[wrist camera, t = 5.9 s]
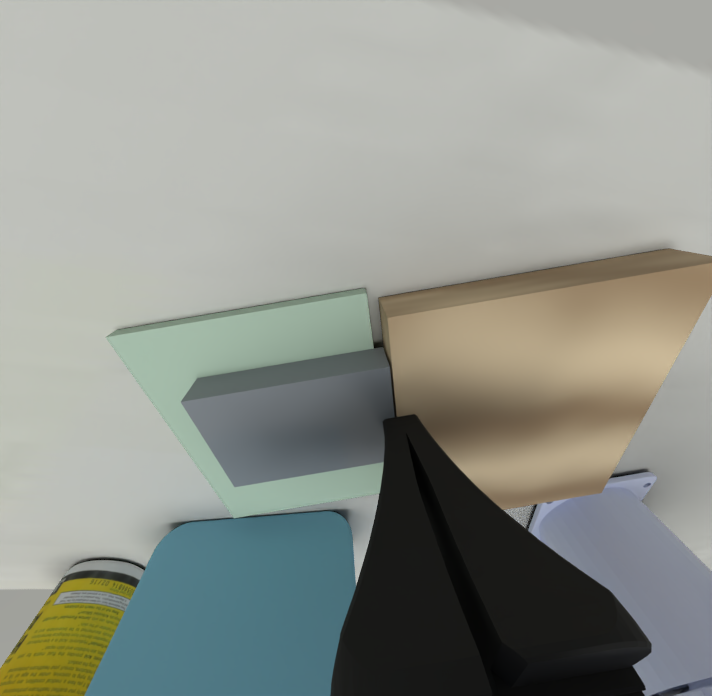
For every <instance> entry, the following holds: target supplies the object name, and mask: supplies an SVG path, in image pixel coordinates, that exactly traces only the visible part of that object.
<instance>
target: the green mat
mask: <svg viewBox="0 0 712 696" xmlns="http://www.w3.org/2000/svg"><path fill="white" fill-rule="evenodd" d="M106 338H107V340H108V341H109V343H110V344H111V346H112V347H113V348H114V350H115V351H116V353H117V354H118V355H119V357H120V358H121V360H122V361H123V362H124V364H125V365H126V367H127V368H128V370H129V371H130V372H131V374H132V375H133V377H134V378H135V379H136V381H137V382H138V384H139V385H140V386H141V388H142V389H143V391H144V392H145V394H146V395H147V396H148V398H149V399H150V401H151V402H152V403H153V405H154V406H155V408H156V409H157V410H158V412H159V413H160V415H161V416H162V417H163V419H164V420H165V422H166V423H167V425H168V426H169V427H170V429H171V430H172V432H173V433H174V434H175V436H176V437H177V439H178V440H179V441H180V443H181V444H182V446H183V447H184V449H185V450H186V451H187V453H188V454H189V456H190V457H191V458H192V460H193V461H194V463H195V464H196V465H197V467H198V468H199V470H200V471H201V473H202V474H203V475H204V477H205V478H206V480H207V481H208V482H209V484H210V485H211V487H212V488H213V489H214V491H215V492H216V494H217V495H218V496H219V498H220V499H221V501H222V502H223V504H224V505H225V506H226V508H227V509H228V511H229V512H230V513H231V515H232V516H233V518H239V517H245V516H251V515H256V514H262V513H268V512H274V511H280V510H286V509H292V508H298V507H303V506H309V505H315V504H321V503H327V502H333V501H339V500H344V499H350V498H356V497H362V496H368V495H374V494H380V488H381V481H382V473H383V464H384V462H382V463H376V464H370V465H364V466H358V467H352V468H346V469H340V470H335V471H329V472H323V473H317V474H311V475H305V476H299V477H293V478H287V479H281V480H275V481H270V482H264V483H258V484H252V485H246V486H240V487H234V486H233V484H232V483H231V481H230V479H229V478H228V476H227V475H226V473H225V472H224V470H223V468H222V467H221V465H220V464H219V462H218V460H217V459H216V457H215V456H214V454H213V453H212V451H211V449H210V448H209V446H208V445H207V443H206V442H205V440H204V438H203V437H202V435H201V434H200V432H199V430H198V429H197V427H196V426H195V424H194V423H193V421H192V419H191V418H190V416H189V415H188V413H187V411H186V410H185V408H184V407H183V405H182V404H181V401H182V399H183V398H184V396H185V395H186V393H187V392H188V391H189V389H190V388H191V386H192V385H193V383H194V382H195V381H196V379H197V378H201V377H207V376H213V375H219V374H225V373H231V372H237V371H243V370H249V369H255V368H261V367H267V366H273V365H279V364H285V363H290V362H296V361H302V360H308V359H314V358H320V357H326V356H332V355H338V354H344V353H350V352H356V351H362V350H368V349H374V346H373V339H372V331H371V323H370V316H369V308H368V300H367V293H366V290H365V288H362V289H356V290H350V291H344V292H338V293H333V294H327V295H321V296H315V297H309V298H303V299H297V300H291V301H285V302H279V303H274V304H268V305H262V306H256V307H250V308H244V309H238V310H232V311H226V312H220V313H214V314H209V315H203V316H197V317H191V318H185V319H179V320H173V321H167V322H161V323H155V324H150V325H144V326H138V327H132V328H126V329H120V330H116V331H114V332H113V333H111V334H110V335H108V336H107V337H106Z"/></svg>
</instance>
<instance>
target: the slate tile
mask: <svg viewBox="0 0 712 696" xmlns="http://www.w3.org/2000/svg"><path fill="white" fill-rule="evenodd" d="M181 404H182V405H183V407H184V408H185V410H186V411H187V413H188V415H189V416H190V418H191V419H192V421H193V423H194V424H195V426H196V427H197V429H198V430H199V432H200V434H201V435H202V437H203V438H204V440H205V442H206V443H207V445H208V446H209V448H210V449H211V451H212V453H213V454H214V456H215V457H216V459H217V460H218V462H219V464H220V465H221V467H222V468H223V470H224V472H225V473H226V475H227V476H228V478H229V479H230V481H231V483H232V484H233V486H234V487H240V486H246V485H252V484H258V483H264V482H270V481H275V480H281V479H287V478H293V477H299V476H305V475H311V474H317V473H323V472H329V471H335V470H340V469H346V468H352V467H358V466H364V465H370V464H376V463H382V462H384V450H385V437H384V429H383V421H384V420H385V419H388V418H394V417H395V416H394V406H393V395H392V385H391V374H390V366H389V363H388V360H387V357H386V354H385V351H384V349H383V347H380V348H374V349H368V350H362V351H356V352H350V353H344V354H338V355H332V356H326V357H320V358H314V359H308V360H302V361H296V362H290V363H285V364H279V365H273V366H267V367H261V368H255V369H249V370H243V371H237V372H231V373H225V374H219V375H213V376H207V377H201V378H197V379H196V381H195V382H194V383H193V385H192V386H191V388H190V389H189V391H188V392H187V393H186V395H185V396H184V398H183V399H182V401H181Z"/></svg>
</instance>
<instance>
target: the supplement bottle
mask: <svg viewBox="0 0 712 696" xmlns="http://www.w3.org/2000/svg"><path fill="white" fill-rule="evenodd" d="M143 573H144V570H143V569H141V568H140V567H138V566H136V565H134V564H130V563H127V562H122V561H113V560H95V561H87V562H83V563H80V564H77V565H75V566H74V567H72V568H71V569H70V570H69V571H68V572H67V573H66V574H65V575H64V577H63V578H62V580H61V581H60V582H59V584H58V585H57V586H56V588H55V589H54V591H53V592H52V594H51V596H50V597H49V598H48V600H47V601H46V603H45V604H44V606H43V607H42V609H41V610H40V611H39V613H38V614H37V616H36V617H35V619H34V620H33V621H32V623H31V624H30V626H29V627H28V629H27V630H26V632H25V633H24V635H23V636H22V637H21V639H20V640H19V642H18V643H17V645H16V646H15V648H14V649H13V651H12V652H11V654H10V655H9V656H8V658H7V659H6V661H5V663H4V664H3V665H2V667H1V668H0V696H84V695H85V693H86V691H87V689H88V687H89V685H90V683H91V681H92V679H93V677H94V674H95V672H96V670H97V668H98V666H99V664H100V662H101V660H102V658H103V656H104V654H105V652H106V650H107V647H108V645H109V643H110V641H111V639H112V637H113V635H114V633H115V631H116V629H117V627H118V625H119V623H120V620H121V618H122V616H123V614H124V612H125V610H126V608H127V606H128V604H129V602H130V600H131V598H132V596H133V593H134V591H135V589H136V587H137V585H138V583H139V581H140V579H141V577H142V575H143Z"/></svg>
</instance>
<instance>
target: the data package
mask: <svg viewBox="0 0 712 696" xmlns="http://www.w3.org/2000/svg"><path fill="white" fill-rule="evenodd" d="M355 589H356V582H355V567H354V552H353V538H352V531H351V528H350V526H349V524H348V522H347V521H346V519H345V518H344V517H343V516H341V515H340V514H338V513H336V512H332V511H322V512H309V513H297V514H284V515H272V516H259V517H247V518H234V519H222V520H210V521H197V522H189V523H186V524H183V525H181V526H179V527H177V528H175V529H174V530H172V531H171V532H170V533H169V534H167V535H166V536H165V537H164V538H163V539H162V540H161V542H160V543H159V544H158V545H157V547H156V549H155V550H154V552H153V554H152V556H151V558H150V560H149V562H148V564H147V566H146V569H145V571H144V573H143V575H142V577H141V579H140V581H139V583H138V585H137V587H136V589H135V591H134V593H133V596H132V598H131V600H130V602H129V604H128V606H127V608H126V610H125V612H124V614H123V616H122V618H121V620H120V623H119V625H118V627H117V629H116V631H115V633H114V635H113V637H112V639H111V641H110V643H109V645H108V647H107V650H106V652H105V654H104V656H103V658H102V660H101V662H100V664H99V666H98V668H97V670H96V672H95V674H94V677H93V679H92V681H91V683H90V685H89V687H88V689H87V691H86V693H85V695H84V696H330V694H331V682H332V675H333V668H334V663H335V658H336V653H337V648H338V644H339V639H340V633H341V629H342V626H343V624H344V621H345V618H346V615H347V612H348V609H349V606H350V603H351V600H352V598H353V595H354V592H355Z"/></svg>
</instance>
